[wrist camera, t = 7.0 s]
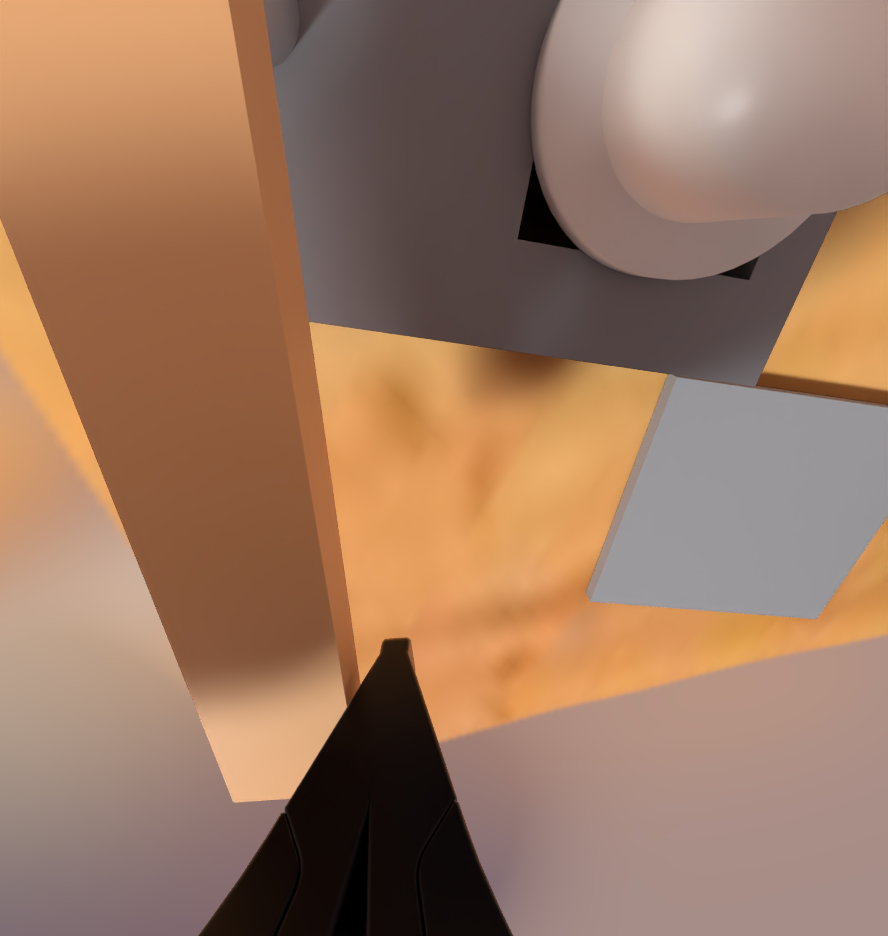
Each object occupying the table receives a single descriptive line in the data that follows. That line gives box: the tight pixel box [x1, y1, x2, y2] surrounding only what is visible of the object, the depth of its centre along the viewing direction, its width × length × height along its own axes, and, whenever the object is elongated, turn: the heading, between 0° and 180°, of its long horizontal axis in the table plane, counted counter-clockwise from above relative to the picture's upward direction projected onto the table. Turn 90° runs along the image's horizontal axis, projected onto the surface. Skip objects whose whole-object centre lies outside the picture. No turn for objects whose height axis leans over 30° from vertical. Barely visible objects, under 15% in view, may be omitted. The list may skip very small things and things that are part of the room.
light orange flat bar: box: [0, 0, 360, 802], centre depth 6 cm, size 14×3×1 cm, turn 1°
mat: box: [586, 374, 888, 619], centre depth 16 cm, size 10×9×1 cm
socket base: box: [263, 0, 837, 387], centre depth 8 cm, size 13×10×7 cm
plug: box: [530, 0, 888, 280], centre depth 8 cm, size 6×6×7 cm
